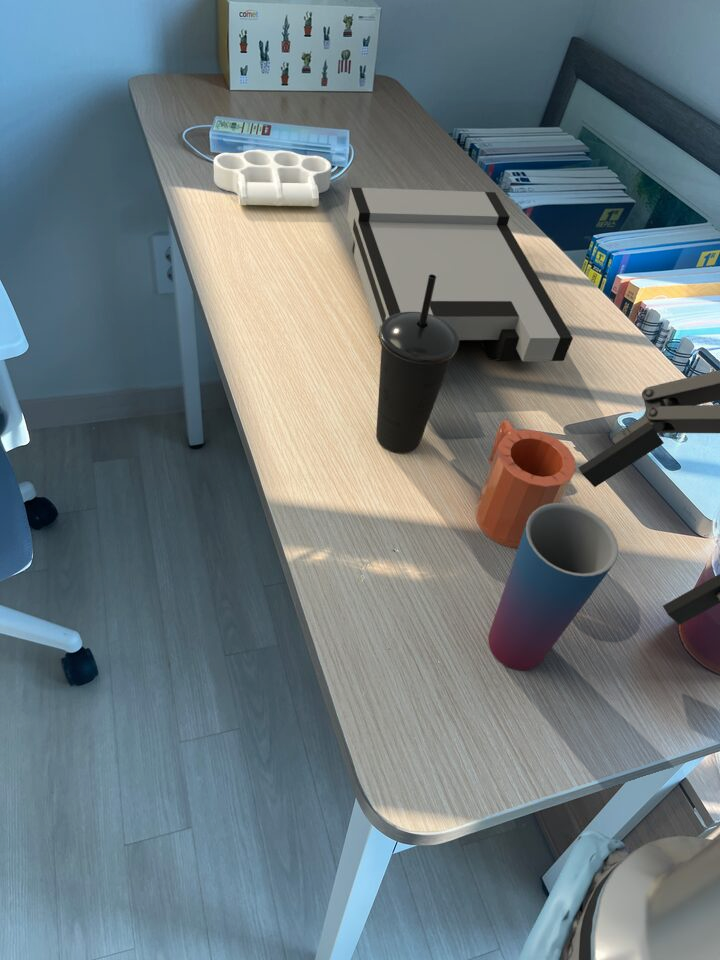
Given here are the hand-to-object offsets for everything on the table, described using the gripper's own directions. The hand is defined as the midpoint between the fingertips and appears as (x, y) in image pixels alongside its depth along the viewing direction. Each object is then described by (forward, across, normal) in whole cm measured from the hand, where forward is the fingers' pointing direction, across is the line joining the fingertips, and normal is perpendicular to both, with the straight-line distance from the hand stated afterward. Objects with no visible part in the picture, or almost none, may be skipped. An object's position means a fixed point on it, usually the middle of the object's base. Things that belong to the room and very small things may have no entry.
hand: (625, 541), depth 58 cm
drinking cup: (+15, -26, +3) cm, 30 cm away
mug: (+9, -14, +8) cm, 19 cm away
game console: (+6, -49, +12) cm, 51 cm away
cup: (+13, 0, +5) cm, 14 cm away
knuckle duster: (+18, -82, +1) cm, 84 cm away
